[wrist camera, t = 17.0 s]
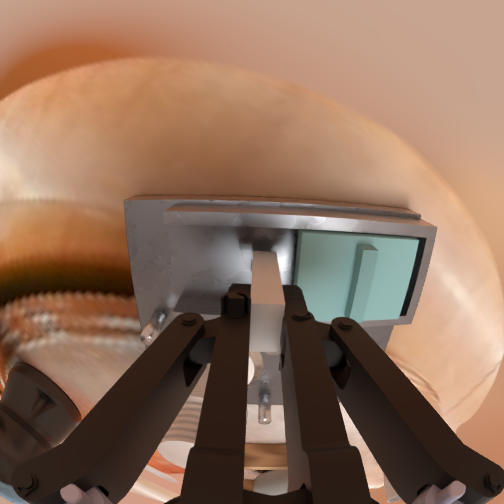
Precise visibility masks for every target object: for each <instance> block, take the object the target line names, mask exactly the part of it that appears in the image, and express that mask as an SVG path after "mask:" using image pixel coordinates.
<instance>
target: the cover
mask: <svg viewBox="0 0 504 504" xmlns="http://www.w3.org/2000/svg"><path fill="white" fill-rule="evenodd" d="M418 243H419V240H418V239H416V238H414V237H413V236H401V235H388V234H374V233H359V232H344V231H328V230H310V229H299V230H298V242H297V253H296V263H295V273H294V282H293V285H297V286H298V287H300V288H301V289H302V292H303V295H304V299H305V302H306V306H307V309H308V311H309V312H311V313H312V314H313V316H314V318H315V320H316V321H332V320H333V319H334V318H337V317H348V318H351V319H353V320H355V321H356V322H357V323H362V321H367V320H389V319H399V315H400V312H401V309H402V306H403V303H404V299H405V296H406V292H407V289H408V285H409V281H410V278H411V274H412V270H413V266H414V261H415V257H416V253H417V248H418Z"/></svg>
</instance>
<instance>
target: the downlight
mask: <svg viewBox="0 0 504 504" xmlns="http://www.w3.org/2000/svg"><path fill="white" fill-rule="evenodd" d="M210 364H211V363H209V364H207V367H206V369H205V371H204V373H203V374H202V376H201V378H200V379H199V381H198V383H197V384H196V386H195V388H194V389H193V391H192V392H191V394H190V396H189V397H188V399H187V401H186V402H185V404H184V406H183V407H182V409H181V410H180V412H179V414H178V415H177V417H176V419H175V420H174V422H173V423H172V425H171V427H170V428H169V430H168V431H167V433H166V435H165V436H164V438H163V439H162V441H161V443H160V444H159V446H158V447H157V449H158V452H159V453H160V455H161V456H162V457H163V458H165V459H166V460H167V461H169V462H171V463H173V464H175V465H177V466H179V467H182V468H186V463H187V458H188V454H189V451H190V449H191V448H192V447H193V446H194V444H195V440H196V434H197V429H198V424H199V419H200V413H201V408H202V403H203V398H204V393H205V388H206V383H207V378H208V373H209V368H210ZM253 376H254V363H253V361H252V359H251V357H250V355H249V367H248V384H249V383H250V382H251V380H252V378H253ZM247 416H248V412H247V413H246V424H247Z"/></svg>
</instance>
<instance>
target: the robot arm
mask: <svg viewBox="0 0 504 504" xmlns="http://www.w3.org/2000/svg"><path fill="white" fill-rule="evenodd" d="M280 347H281V354H280V361H279V368H278V371H281V381H282V393H283V407H284V420H285V435H286V450H287V466H288V489H287V493H284V494H280V495H267V494H262V493H258V492H253V491H249V490H245V489H243V482H244V459H245V436H246V413H247V390H248V367H249V351H251V352H280ZM209 363H211V364H210V368H209V373H208V378H207V383H206V388H205V393H204V398H203V403H202V408H201V413H200V419H199V424H198V429H197V434H196V440H195V444H194V446H193V447H192V448H191V449H190V451H189V454H188V458H187V463H186V468H185V473H184V479H183V484H182V489H181V495H180V496H178V497H176V498H173V499H171V500H169V501H168V502H166V503H164V504H379V503H378V502H377V501H375V500H373V499H372V498H371V497H370V492H369V488H368V483H367V479H366V475H365V471H364V467H363V463H362V459H361V455H360V452H359V450H358V449H357V447H356V446H351V445H350V444H349V441H348V437H347V433H346V429H345V425H344V421H343V417H342V413H341V409H340V406H339V402H338V398H339V400H340V402H341V403H342V405H343V407H344V408H345V410H346V412H347V413H348V415H349V417H350V418H351V420H352V421H353V423H354V425H355V426H356V428H357V430H358V431H359V433H360V435H361V436H362V438H363V440H364V441H365V443H366V445H367V446H368V448H369V449H370V451H371V453H372V454H373V456H374V458H375V459H376V461H377V463H378V464H379V466H380V468H381V469H382V471H383V472H384V474H385V476H386V477H387V479H388V481H389V482H390V484H391V486H392V487H393V489H394V490H395V491H396V493H397V494H398V496H399V497H400V498H401V499H402V500H403V501H404V502H405V503H406V504H485V503H487V502H488V501H490V500H491V499H493V498H494V497H495V496H497V495H498V494H500V493H501V491H502V490H503V488H504V470H503V469H502V468H501V467H500V466H499V465H497V464H495V463H494V462H492V461H490V460H489V459H487V458H485V457H484V456H482V455H480V454H479V453H477V452H475V451H474V450H472V449H471V448H469V447H467V446H466V445H464V444H463V443H462V442H461V440H460V439H459V438H458V437H457V436H456V434H455V433H454V432H453V431H452V429H451V428H450V427H449V426H448V425H447V423H446V422H445V421H444V420H443V419H442V417H441V416H440V415H439V414H438V413H437V412H436V410H435V409H434V408H433V407H432V406H431V404H430V403H429V402H428V401H427V400H426V399H425V397H424V396H423V395H422V394H421V393H420V392H419V391H418V389H417V388H416V387H415V386H414V385H413V384H412V383H411V381H410V380H409V379H408V378H407V377H406V376H405V375H404V373H403V372H402V371H401V370H400V369H399V368H398V367H397V366H396V364H395V363H394V362H393V361H392V360H391V359H390V358H389V357H388V355H387V354H386V353H385V352H384V351H383V350H382V349H381V348H380V347H379V345H378V344H377V343H376V342H375V341H374V340H373V339H372V338H371V337H370V336H369V334H368V333H367V332H366V331H365V330H364V329H363V328H362V327H361V326H360V325H359V324H358V323H357V322H356V321H355V320H353V319H351V318H348V317H337V318H334V319H333V320H332V321H331V324H326V323H322V322H318V321H316V320H315V318H314V316H313V314H312V313H311V312H309V311H308V309H307V306H306V302H305V299H304V295H303V292H302V289H301V288H300V287H298V286H297V285H282V282H281V276H280V270H279V264H278V259H277V253H276V252H271V251H253V261H252V280H251V284H238V283H233V284H232V285H231V286H230V287H229V289H228V292H227V293H225V294H223V295H222V296H221V316H219V317H218V318H215V319H211V320H204V318H203V317H202V316H201V315H200V314H197V313H192V312H188V313H183V314H180V315H178V316H177V317H175V319H174V320H173V321H172V322H171V323H170V324H169V325H168V326H167V327H166V328H165V329H164V330H163V332H162V333H161V334H160V335H159V336H158V337H157V338H156V339H155V340H154V341H153V342H152V344H151V345H150V346H149V347H148V348H147V349H146V350H145V351H144V352H143V353H142V354H141V356H140V357H139V358H138V359H137V360H136V361H135V362H134V363H133V364H132V365H131V367H130V368H129V369H128V370H127V371H126V372H125V373H124V374H123V375H122V376H121V378H120V379H119V380H118V381H117V382H116V383H115V384H114V385H113V386H112V388H111V389H110V390H109V391H108V392H107V393H106V394H105V395H104V396H103V398H102V399H101V400H100V401H99V402H98V403H97V404H96V405H95V406H94V408H93V409H92V410H91V411H90V412H89V413H88V414H87V415H86V417H85V418H84V419H83V420H82V421H81V416H80V413H79V411H78V410H77V408H76V407H75V405H74V404H73V403H72V401H71V400H70V399H69V398H68V397H67V396H66V395H65V393H64V392H63V391H62V390H61V389H60V388H58V387H57V386H56V385H55V384H54V383H53V382H52V381H51V380H50V379H48V378H47V377H46V376H45V375H43V374H42V373H40V372H39V371H38V370H36V369H34V368H33V367H31V366H29V365H27V364H24V363H17V364H16V365H15V366H14V367H13V368H12V369H11V370H10V372H9V375H8V380H7V382H6V385H5V388H4V391H3V394H2V397H1V400H0V496H2V497H3V498H5V499H7V500H8V501H11V502H12V503H15V504H28V503H29V504H117V503H118V502H119V501H120V500H121V499H123V498H124V497H125V496H126V494H127V493H128V492H129V490H130V489H131V488H132V486H133V485H134V483H135V482H136V480H137V479H138V477H139V476H140V474H141V473H142V471H143V469H144V468H145V466H146V465H147V463H148V462H149V460H150V458H151V457H152V455H153V454H154V452H155V451H156V449H157V447H158V446H159V444H160V443H161V441H162V439H163V438H164V436H165V435H166V433H167V431H168V430H169V428H170V427H171V425H172V423H173V422H174V420H175V419H176V417H177V415H178V414H179V412H180V410H181V409H182V407H183V406H184V404H185V402H186V401H187V399H188V397H189V396H190V394H191V392H192V391H193V389H194V388H195V386H196V384H197V383H198V381H199V379H200V378H201V376H202V374H203V373H204V371H205V369H206V367H207V364H209ZM337 397H338V398H337ZM61 442H63V443H61ZM60 443H61V444H60Z"/></svg>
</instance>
